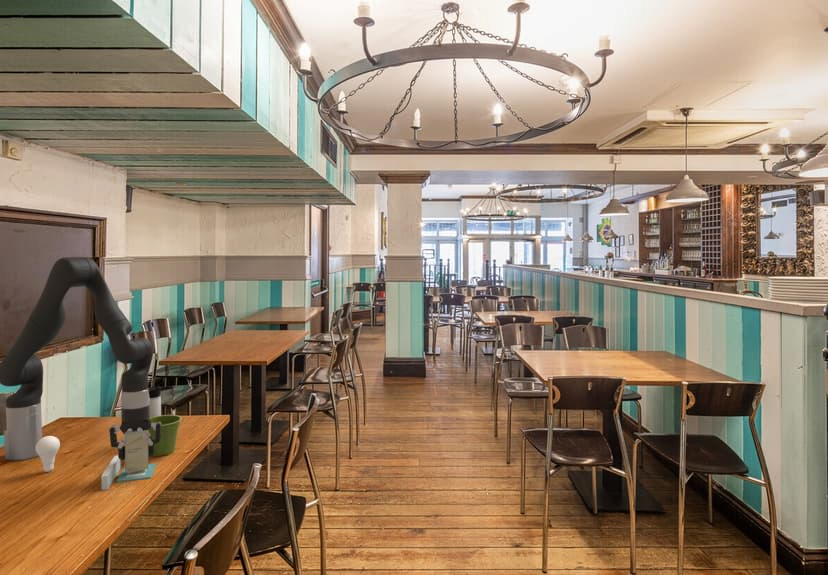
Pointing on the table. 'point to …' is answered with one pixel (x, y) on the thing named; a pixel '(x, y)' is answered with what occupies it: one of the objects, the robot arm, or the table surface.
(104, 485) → the divider wall
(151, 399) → the travel mug
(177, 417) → the plant pot
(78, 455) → the table surface
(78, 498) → the table surface
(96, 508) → the table surface
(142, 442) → the skincare box
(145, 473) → the resting pad
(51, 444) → the lightbulb
